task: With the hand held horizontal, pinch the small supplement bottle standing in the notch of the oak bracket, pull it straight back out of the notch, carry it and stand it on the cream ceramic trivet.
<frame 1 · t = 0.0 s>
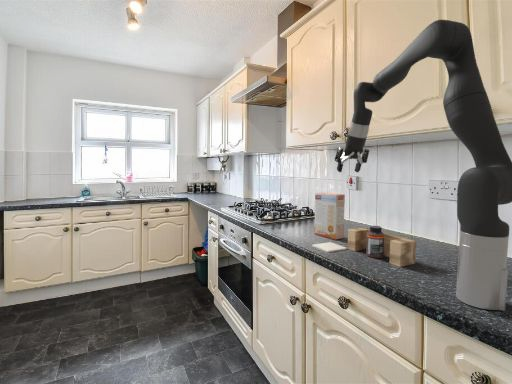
hand: (347, 171, 122), 31 cm above the table, tool tilted 20°, fingers open, 8 cm apart
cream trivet: (329, 247, 117), on the table
supplement bottle: (374, 256, 106), on the table
oak bracket: (378, 255, 107), on the table
cracker box: (328, 236, 136), on the table
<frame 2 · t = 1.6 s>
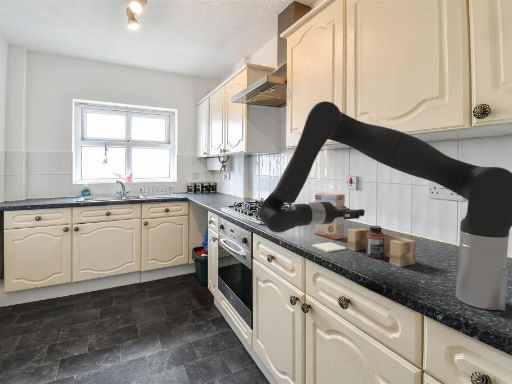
hand: (354, 210, 100), 18 cm above the table, tool horizontal, fingers open, 8 cm apart
nothing on the table moved.
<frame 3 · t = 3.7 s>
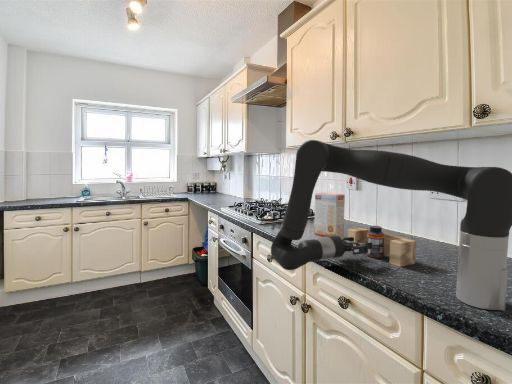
hand: (361, 242, 102), 6 cm above the table, tool horizontal, fingers open, 8 cm apart
nothing on the table moved.
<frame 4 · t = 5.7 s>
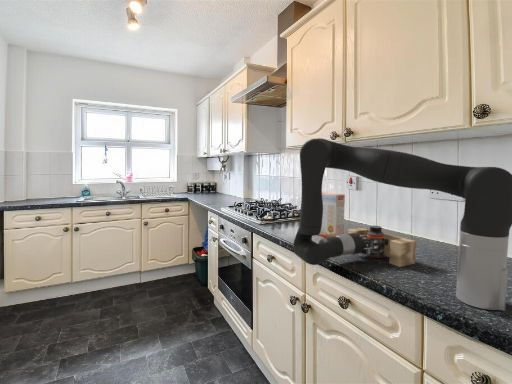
hand: (379, 239, 106), 6 cm above the table, tool horizontal, fingers closed on supplement bottle, 6 cm apart
supplement bottle: (374, 256, 106), on the table, touching gripper
everything else where it was.
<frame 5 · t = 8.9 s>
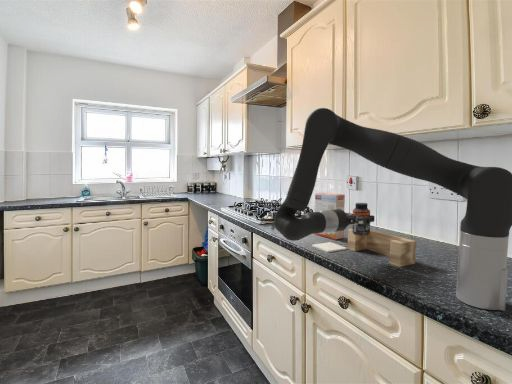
hand: (366, 217, 102), 15 cm above the table, tool horizontal, fingers closed on supplement bottle, 6 cm apart
supplement bottle: (360, 234, 101), point 9 cm above the table, touching gripper
everything else where it was.
when the fingers open (8 cm above the table, at t = 12.1 s): supplement bottle stays where it is, resting on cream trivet.
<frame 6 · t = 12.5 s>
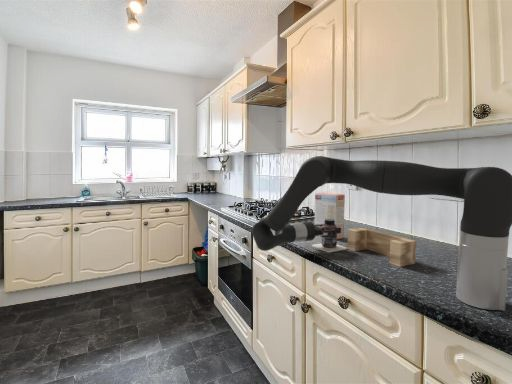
hand: (333, 228, 117), 8 cm above the table, tool horizontal, fingers open, 8 cm apart
supplement bottle: (329, 246, 116), resting on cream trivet
everything else where it was.
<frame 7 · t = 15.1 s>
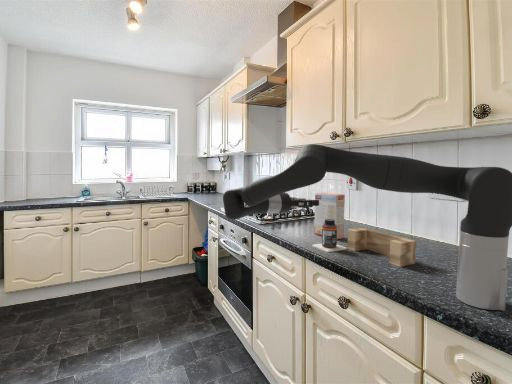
hand: (311, 201, 111), 20 cm above the table, tool horizontal, fingers open, 8 cm apart
nothing on the table moved.
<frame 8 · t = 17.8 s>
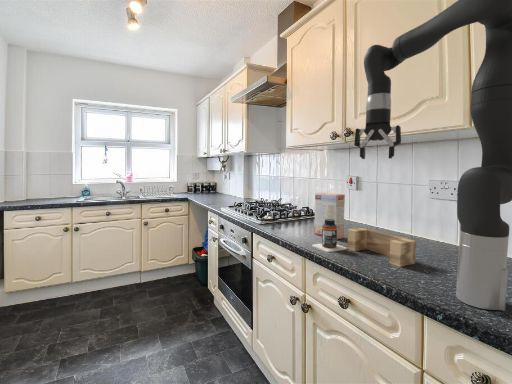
hand: (376, 158, 95), 36 cm above the table, tool pointing down, fingers open, 8 cm apart
nothing on the table moved.
at the end: supplement bottle inside the target area on the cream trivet (0.2 cm from its centre), point 0.4 cm above the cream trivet's base; supplement bottle tilted 0°; the gripper is holding nothing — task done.
